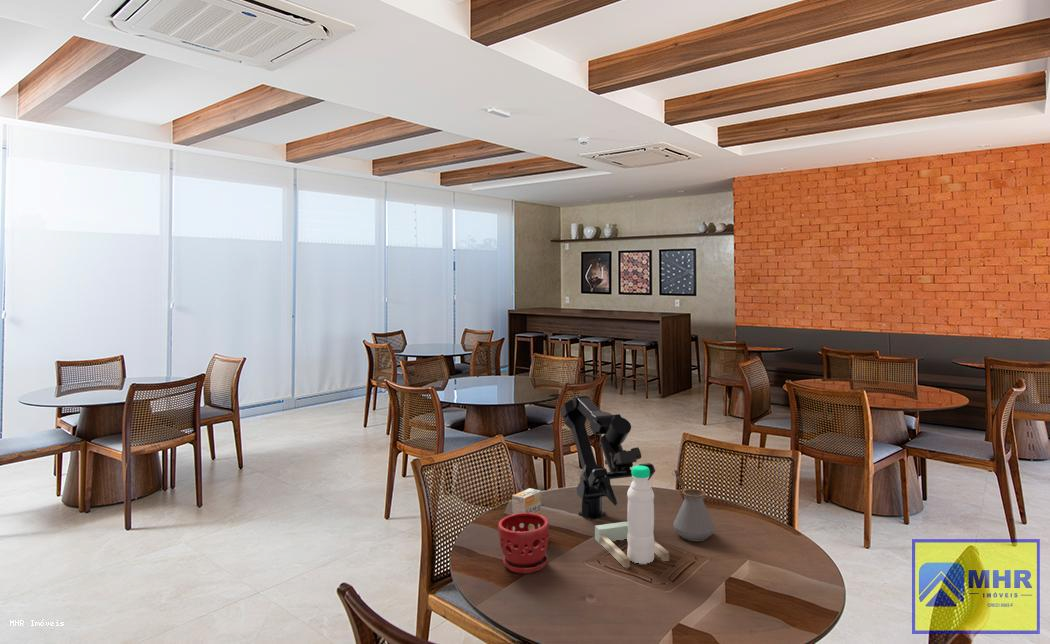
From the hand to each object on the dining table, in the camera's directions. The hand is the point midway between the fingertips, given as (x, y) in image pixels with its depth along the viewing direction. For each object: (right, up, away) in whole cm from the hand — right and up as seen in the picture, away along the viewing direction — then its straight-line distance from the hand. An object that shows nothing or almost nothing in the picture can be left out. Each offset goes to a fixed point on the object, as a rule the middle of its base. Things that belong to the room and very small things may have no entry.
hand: (631, 502), depth 164 cm
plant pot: (-29, -15, -7) cm, 34 cm away
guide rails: (0, -14, 0) cm, 14 cm away
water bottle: (+2, -14, -4) cm, 15 cm away
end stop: (-2, -13, +9) cm, 16 cm away
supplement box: (-29, -13, +11) cm, 33 cm away
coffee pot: (+19, -13, +15) cm, 28 cm away
